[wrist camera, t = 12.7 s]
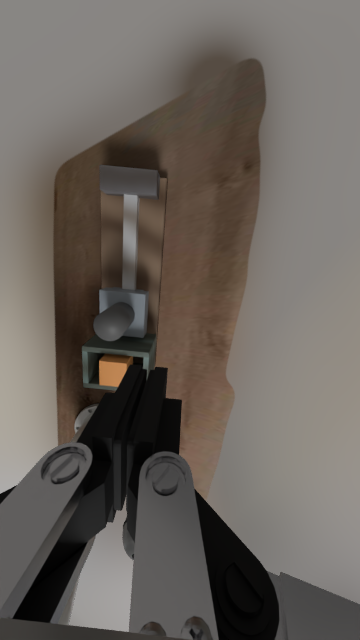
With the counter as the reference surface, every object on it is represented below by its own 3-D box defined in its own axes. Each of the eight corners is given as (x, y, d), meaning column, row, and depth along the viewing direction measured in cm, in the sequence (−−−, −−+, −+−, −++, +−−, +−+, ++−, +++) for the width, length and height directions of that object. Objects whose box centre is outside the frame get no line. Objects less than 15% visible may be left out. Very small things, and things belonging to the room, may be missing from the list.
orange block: (132, 373, 37) (126, 387, 33) (108, 371, 37) (99, 385, 33) (133, 352, 35) (126, 363, 32) (108, 349, 35) (99, 361, 32)
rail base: (155, 364, 43) (146, 393, 34) (103, 359, 43) (81, 387, 34) (167, 181, 34) (160, 154, 25) (101, 175, 34) (70, 146, 25)
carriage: (147, 329, 39) (134, 354, 29) (108, 325, 39) (82, 348, 29) (149, 290, 37) (136, 302, 27) (108, 286, 37) (80, 297, 27)
